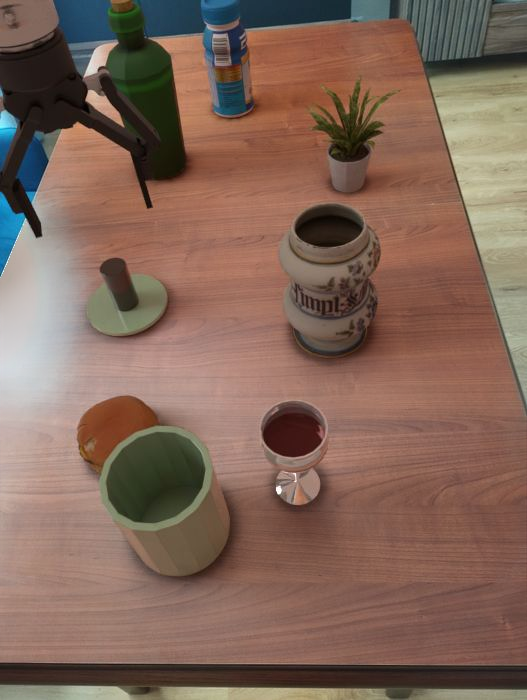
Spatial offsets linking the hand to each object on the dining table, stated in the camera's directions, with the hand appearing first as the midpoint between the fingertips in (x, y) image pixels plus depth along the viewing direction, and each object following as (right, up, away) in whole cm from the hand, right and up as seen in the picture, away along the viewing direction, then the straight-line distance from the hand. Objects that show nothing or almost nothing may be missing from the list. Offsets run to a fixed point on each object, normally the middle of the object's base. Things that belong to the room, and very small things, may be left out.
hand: (94, 216), depth 71 cm
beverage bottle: (+15, +32, +45) cm, 57 cm away
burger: (+4, -28, -1) cm, 28 cm away
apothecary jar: (+30, -14, +7) cm, 33 cm away
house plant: (+36, +12, +27) cm, 47 cm away
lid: (+1, -10, +12) cm, 16 cm away
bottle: (+3, +17, +34) cm, 38 cm away
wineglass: (+25, -31, -6) cm, 40 cm away
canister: (+12, -36, -8) cm, 38 cm away
